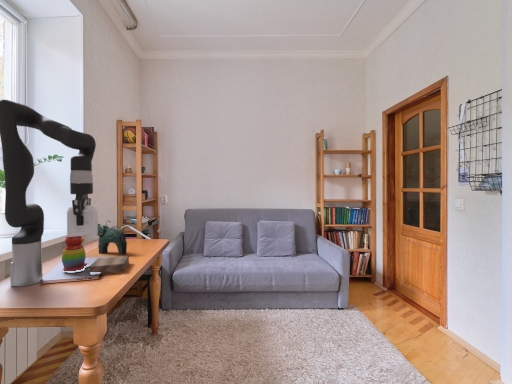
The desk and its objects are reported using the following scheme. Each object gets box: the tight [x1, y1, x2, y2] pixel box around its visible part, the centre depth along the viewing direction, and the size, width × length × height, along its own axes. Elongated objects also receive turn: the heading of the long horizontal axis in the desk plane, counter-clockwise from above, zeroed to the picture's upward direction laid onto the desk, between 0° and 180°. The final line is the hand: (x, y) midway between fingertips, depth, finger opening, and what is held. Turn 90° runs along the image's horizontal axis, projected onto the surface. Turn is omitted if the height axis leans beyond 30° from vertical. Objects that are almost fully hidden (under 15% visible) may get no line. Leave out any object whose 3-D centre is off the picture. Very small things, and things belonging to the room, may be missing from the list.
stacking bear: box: [61, 236, 89, 271], centre depth 122 cm, size 11×10×18 cm
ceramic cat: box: [96, 220, 128, 256], centre depth 151 cm, size 20×6×20 cm, turn 73°
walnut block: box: [88, 255, 130, 275], centre depth 123 cm, size 14×14×4 cm
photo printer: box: [66, 205, 99, 237], centre depth 102 cm, size 10×4×12 cm, turn 123°
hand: (82, 224), depth 102 cm, fingers closed on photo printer, 5 cm apart
